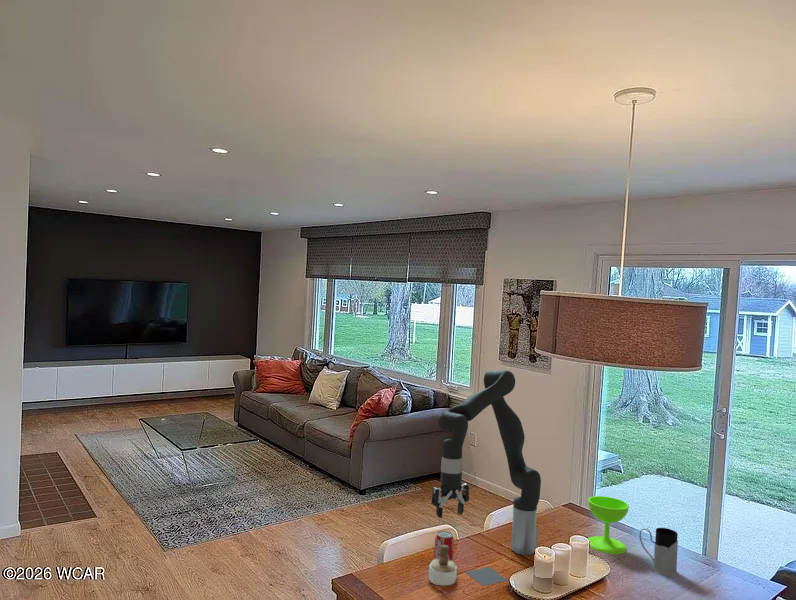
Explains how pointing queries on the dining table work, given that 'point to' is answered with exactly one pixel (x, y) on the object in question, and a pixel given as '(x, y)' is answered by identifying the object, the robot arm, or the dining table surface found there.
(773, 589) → the dining table surface
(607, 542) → the wineglass
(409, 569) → the dining table surface
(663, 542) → the glass holder
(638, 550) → the dining table surface
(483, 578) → the mat
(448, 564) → the lid
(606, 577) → the dining table surface
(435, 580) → the bowl
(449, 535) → the soda can
